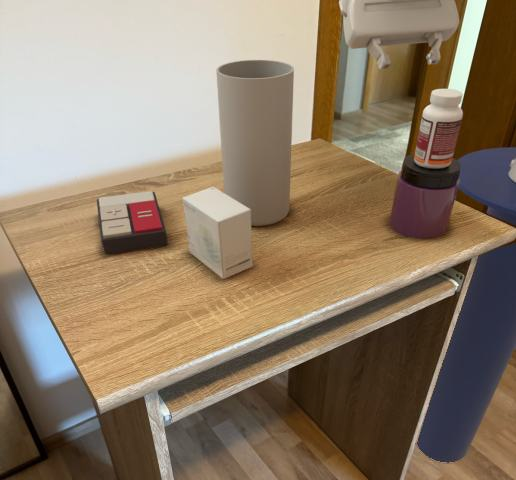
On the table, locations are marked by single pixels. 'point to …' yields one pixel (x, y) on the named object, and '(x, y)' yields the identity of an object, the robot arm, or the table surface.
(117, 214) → the calculator
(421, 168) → the jar lid
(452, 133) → the pill bottle
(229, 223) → the cosmetics box
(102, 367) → the table surface
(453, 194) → the jar
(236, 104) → the cylinder vase
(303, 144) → the table surface
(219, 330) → the table surface
